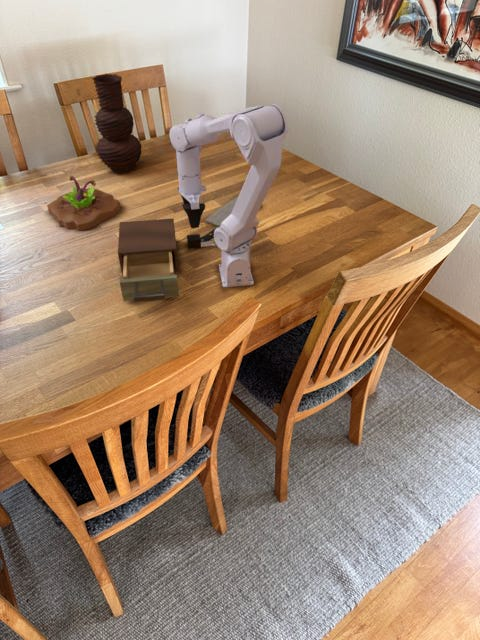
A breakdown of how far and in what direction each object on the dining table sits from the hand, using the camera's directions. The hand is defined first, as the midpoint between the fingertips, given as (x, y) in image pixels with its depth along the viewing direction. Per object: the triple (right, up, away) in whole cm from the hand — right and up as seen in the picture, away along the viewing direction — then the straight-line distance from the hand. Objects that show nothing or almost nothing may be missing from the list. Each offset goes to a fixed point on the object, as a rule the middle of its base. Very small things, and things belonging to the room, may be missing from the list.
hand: (192, 219), depth 125 cm
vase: (-29, +27, +41) cm, 57 cm away
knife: (+3, -6, +6) cm, 9 cm away
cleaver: (+7, +3, +16) cm, 18 cm away
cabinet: (-12, -10, +2) cm, 16 cm away
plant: (-36, +7, +19) cm, 41 cm away
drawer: (-9, -19, -9) cm, 23 cm away
